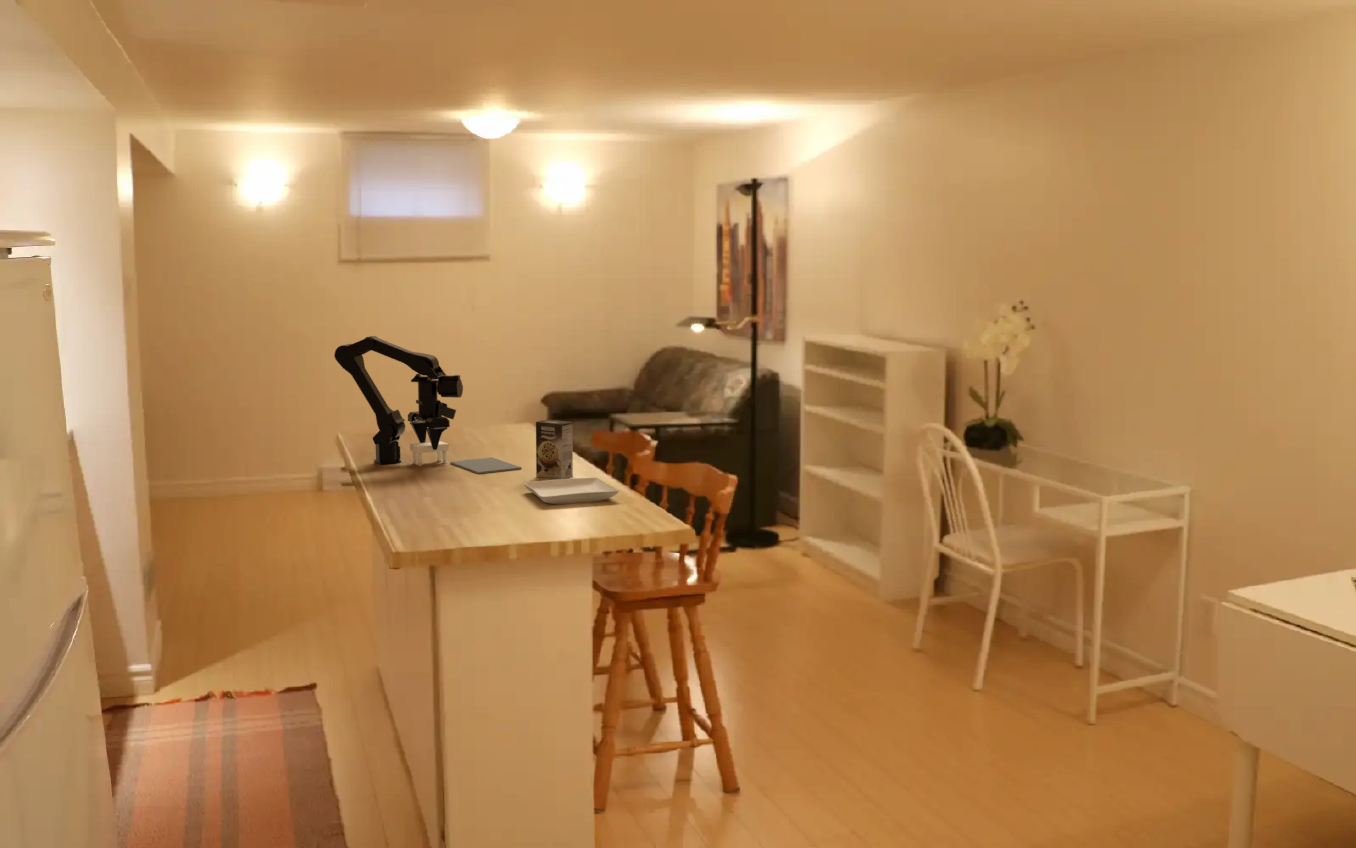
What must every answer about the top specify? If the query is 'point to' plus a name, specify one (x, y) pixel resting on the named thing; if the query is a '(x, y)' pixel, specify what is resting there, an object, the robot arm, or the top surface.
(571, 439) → the coffee box
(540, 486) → the salad plate
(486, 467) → the mat
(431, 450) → the footstool
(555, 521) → the top surface
